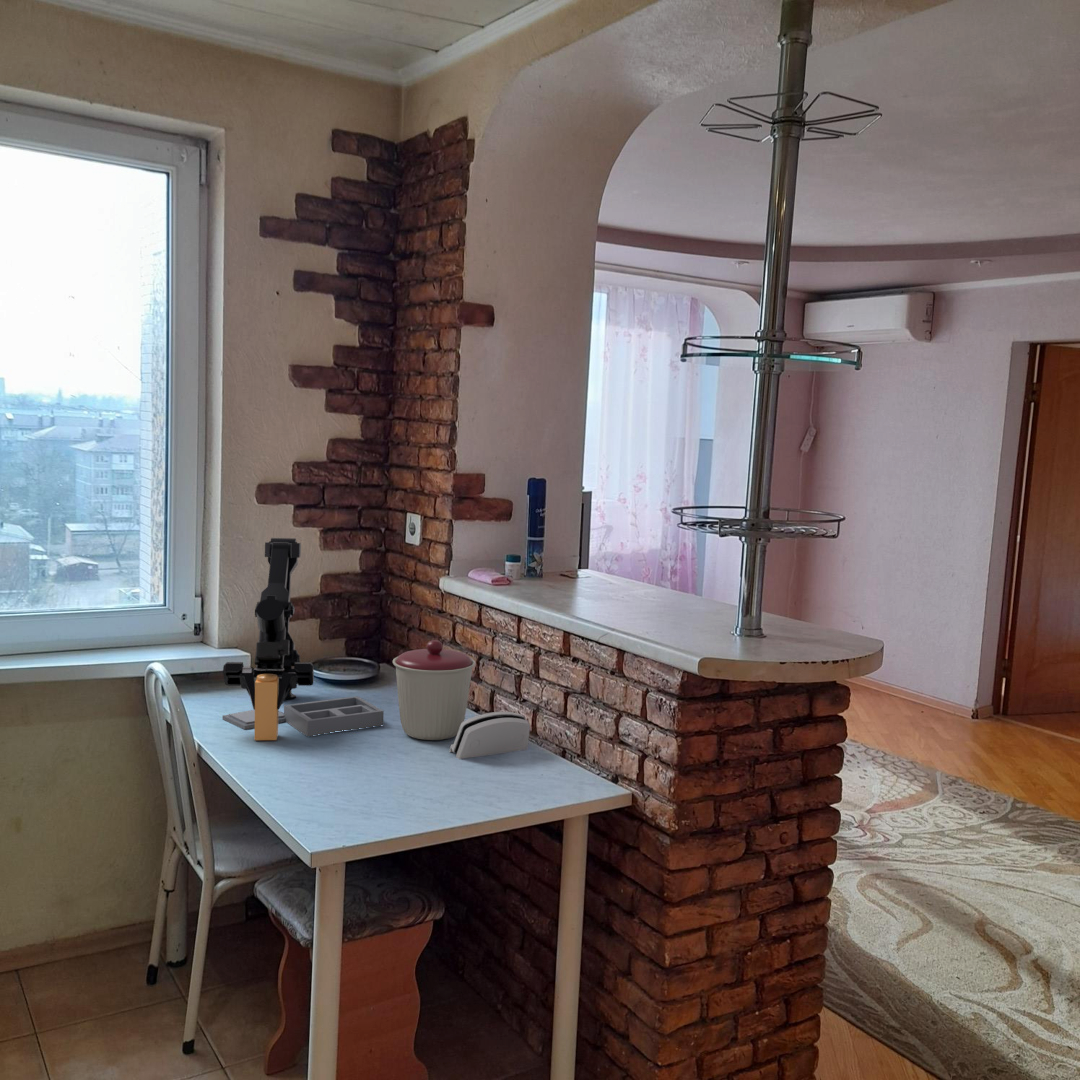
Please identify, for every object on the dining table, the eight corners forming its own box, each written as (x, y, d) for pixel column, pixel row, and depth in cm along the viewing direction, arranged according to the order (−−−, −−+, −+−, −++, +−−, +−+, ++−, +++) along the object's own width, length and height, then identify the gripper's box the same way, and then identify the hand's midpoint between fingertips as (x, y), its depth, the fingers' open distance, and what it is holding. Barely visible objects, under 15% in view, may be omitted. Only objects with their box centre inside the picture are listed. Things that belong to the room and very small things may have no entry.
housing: (283, 720, 234) (284, 705, 233) (357, 710, 244) (357, 696, 244) (307, 737, 222) (307, 721, 222) (383, 726, 233) (383, 710, 232)
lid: (222, 719, 233) (222, 713, 233) (270, 710, 241) (270, 705, 241) (244, 729, 226) (244, 724, 226) (292, 720, 234) (292, 715, 234)
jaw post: (256, 733, 222) (257, 673, 221) (278, 733, 223) (278, 673, 221) (254, 740, 218) (255, 678, 216) (276, 740, 218) (277, 678, 217)
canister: (410, 718, 239) (412, 629, 237) (483, 727, 235) (487, 636, 232) (377, 740, 222) (379, 644, 220) (456, 750, 217) (459, 652, 215)
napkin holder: (516, 742, 225) (526, 704, 221) (526, 755, 221) (536, 717, 217) (447, 751, 216) (456, 712, 212) (456, 765, 213) (465, 725, 209)
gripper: (224, 625, 220) (216, 689, 210) (313, 626, 223) (310, 689, 213) (228, 653, 229) (221, 715, 219) (315, 653, 232) (311, 715, 222)
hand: (266, 708), depth 218 cm, fingers closed on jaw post, 4 cm apart
